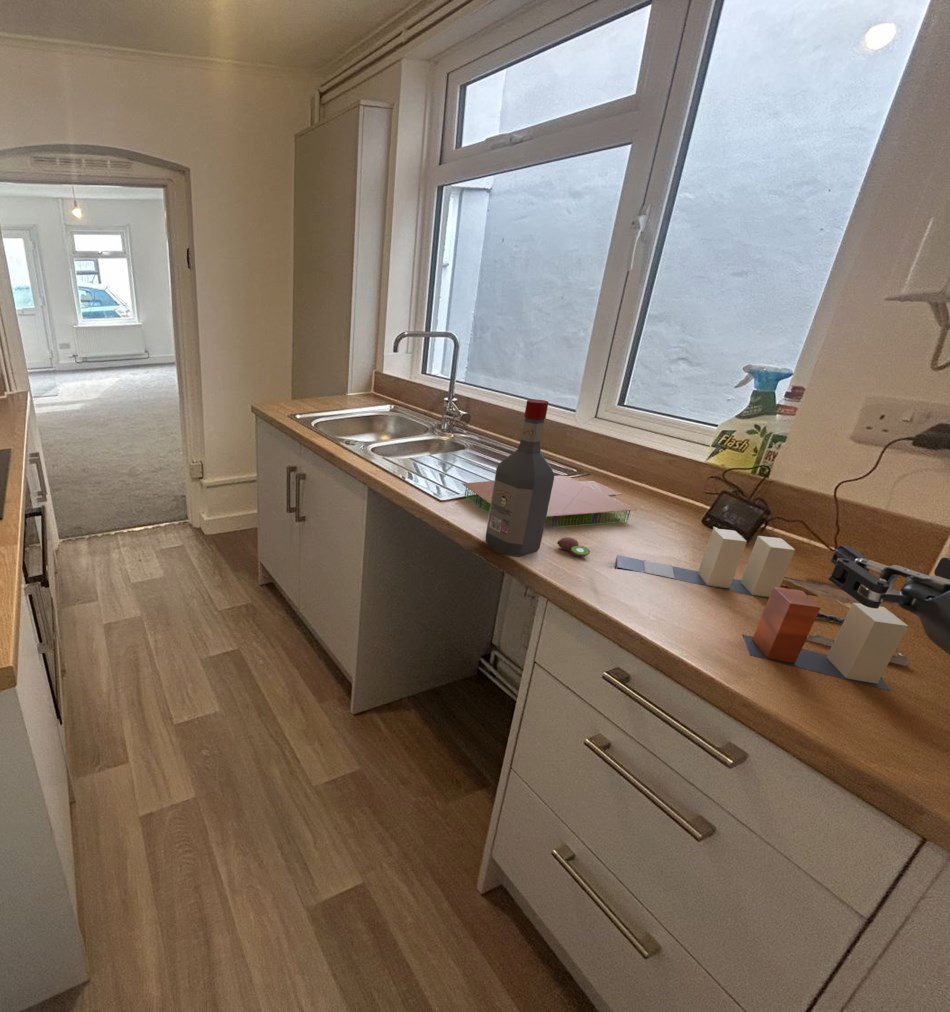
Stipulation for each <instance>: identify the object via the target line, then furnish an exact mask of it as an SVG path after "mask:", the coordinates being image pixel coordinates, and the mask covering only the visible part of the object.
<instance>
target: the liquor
mask: <svg viewBox="0 0 950 1012" xmlns="http://www.w3.org/2000/svg"><path fill="white" fill-rule="evenodd" d="M548 406H549V401H547V400H543V399H533V398H532V399H527V400H526V405H525V410H524V415H523V417H524V421H523V426H522V431H521V435H520V441H519V444H518V445H517V449H516V450H515V451H513V452H512V453H511V454H509V455H508V456H507V457H505V458H504V459H503V460H502V461H500V462H499V463H498V465H497V466H496V470H495V477H494V480H493V481H494V487H493V493H492V500H491V505H489V506H490V511H488V513H489V514H488V519H487V524H486V525H487V526H486V532H485V542H486V545H487V546H488V547H491V548H492V549H495V550H497V551H498V552H500V553H502V554H504V555H506V556H513V557H522V556H525V555H529V554H533V553H537V552H538V551H539V549H540V548H541V543H542V538H543V534H544V530H545V525H546V523H545V522H546V518H547V517H546V515H547V511H548V506H549V501H550V496H551V491H552V486H553V481H554V476H555V474H554V471H553V468H552V467H551V465H550V463H549V462H548V461H547V459H546V458H545V457H544V455H543V453H541V440H542V435H543V430H544V423H545V420H546V418H547V413H548Z"/></svg>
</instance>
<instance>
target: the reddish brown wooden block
mask: <svg viewBox="0 0 950 1012" xmlns="http://www.w3.org/2000/svg"><path fill="white" fill-rule="evenodd" d="M820 610H821V606H819V604H818V603H817V602H815V601H814V600H813V599H812V598H811V597H810V595H806V594H805V593H804V592H803V591H802V590H794V589H791V588H788V587H781V586H780V587H773V590H772V592H771V595H770V597H769V599H767V602H766V605H765V607H764V609H763V612H762V614H761V617H760V619H759V622H758V624H757V626H756V629H755V632H754V633H753V636H752V637H753V639H752V640H753V641H754V643H755V644H756V645H757V646H758V648H759V649H760V650H761V651H762V653H763V654H764V655H765V656H766V658H768V659H774V660H780V661H786V662H792V663H796V661H797V658H798V656H799V654H800V652H801V650H802V649H803V647H804V645H805V643H806V641H807V640H806V639H807V638H808V637H809V634H810V632H811V630H812V627H813V626H814V624H815V621H816V620H817V619H816V617H817V615H818V612H820Z"/></svg>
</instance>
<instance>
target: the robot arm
mask: <svg viewBox="0 0 950 1012" xmlns="http://www.w3.org/2000/svg"><path fill="white" fill-rule="evenodd" d="M830 562H831V563H832V564H833V565H834V567H833V569H832V572H831V574H830V575H829V577H828V581H830V582H831V583H832V584H834V585H835V586H837V588H839V589H842V590H843V591H845V592H846V593H847V594H849V595H850V596H851V597H853V598H854V599H856V600H857V601H858V602H860V603H861V604H862V605H864V606H866V607H869V608H875V609H877V608H879V606H880V604H881V605H882V603H888V604H889V603H890V604H893V605H897V606H898V607H900V608H902V609H903V610H905V611H908V612H909V613H911V614H913V615H916V616H917V617H918V618H919V620H920V623H921V625H922V628H923V630H924V633H925V635H926V636H927V637H928V639H929V640H930V641H931V642H932V643H933V644H934V645H936V646H937V647H938V648H940V649H941V650H942V651H944V652H945V653H946V654H948V655H949V656H950V557H945V556H944V557H941V558H940V559H939V561H938V563H937V565H936V567H935V568H934V573H933V574H934V575H933V576H932V575H929V574H925V573H922V572H920V571H917V570H913V569H911V568H907V567H906V566H905V567H904V566H903V565H902V566H901V565H899V564H894V565H893V564H892V565H889V566H886V565H884V564H881V563H878V562H876V561H875V562H874V561H872V560H870V559H869V558H867V557H866V556H864V555H863V554H862V553H860V552H859V551H857V550H856V549H854V548H853V547H851V546H849V545H842V544H840V545H838V547H837V548H835V549H834V551H833V554H832V556H831V558H830ZM870 571H873V572H876V573H878V574H879V575H880V576H879V577H878V576H877V575H874V574H873V573H872V572H870ZM899 576H900V577H902V578H905V579H906V581H905V582H904V584H903V585H902V587H901V588H900V590H895V589H893V587H894V586H895V584H896V582H897V579H898V578H899Z"/></svg>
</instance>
